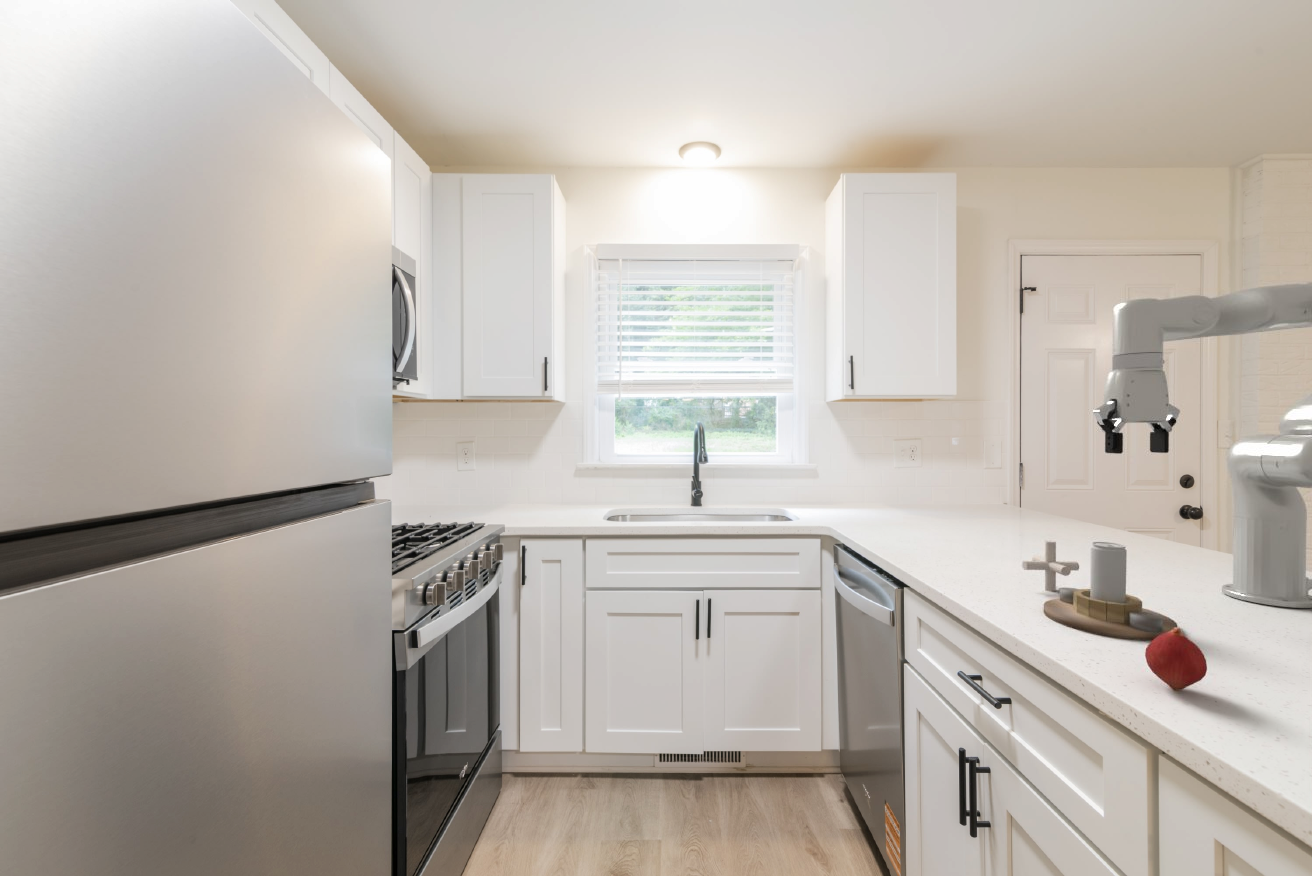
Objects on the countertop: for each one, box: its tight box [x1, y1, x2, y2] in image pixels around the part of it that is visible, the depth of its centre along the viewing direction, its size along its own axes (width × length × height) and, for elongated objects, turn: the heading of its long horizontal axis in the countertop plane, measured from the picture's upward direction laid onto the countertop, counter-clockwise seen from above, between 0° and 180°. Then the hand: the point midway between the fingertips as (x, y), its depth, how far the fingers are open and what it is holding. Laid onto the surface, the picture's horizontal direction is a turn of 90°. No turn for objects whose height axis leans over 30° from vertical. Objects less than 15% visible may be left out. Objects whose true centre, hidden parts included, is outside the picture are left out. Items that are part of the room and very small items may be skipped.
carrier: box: [1043, 587, 1178, 641], centre depth 98 cm, size 18×18×4 cm
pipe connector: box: [1021, 540, 1080, 592], centre depth 116 cm, size 10×10×10 cm
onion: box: [1144, 627, 1208, 691], centre depth 72 cm, size 6×6×8 cm
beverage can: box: [1089, 541, 1127, 603], centre depth 98 cm, size 5×5×12 cm
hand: (1136, 452), depth 110 cm, fingers open, 9 cm apart
